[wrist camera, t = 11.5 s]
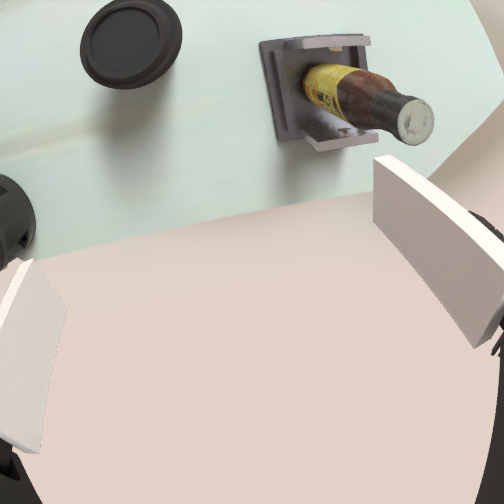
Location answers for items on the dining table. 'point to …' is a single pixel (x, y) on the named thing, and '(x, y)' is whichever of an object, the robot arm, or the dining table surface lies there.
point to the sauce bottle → (368, 102)
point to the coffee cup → (130, 43)
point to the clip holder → (294, 98)
